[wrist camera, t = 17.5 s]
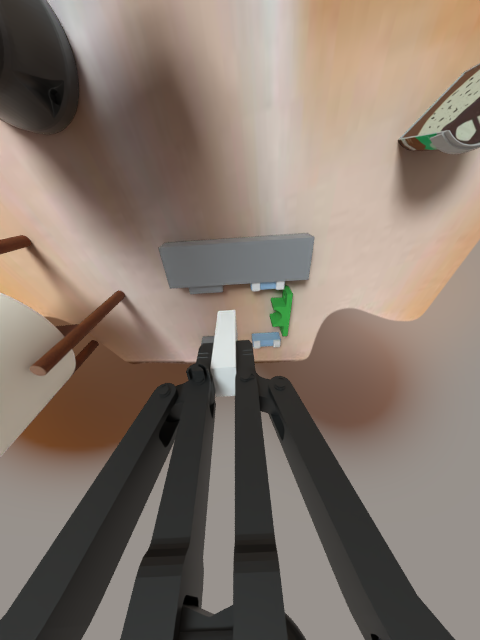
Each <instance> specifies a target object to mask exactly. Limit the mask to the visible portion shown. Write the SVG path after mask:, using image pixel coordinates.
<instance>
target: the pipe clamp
mask: <svg viewBox="0 0 480 640" xmlns="http://www.w3.org/2000/svg"><path fill="white" fill-rule="evenodd" d="M292 297H293V293H292V292H291V290H290V288H289V286H284V289H283V293H282V298H271V303H272V306H273V309H274V310H277V311H276V312H275V313H273V314H270V319H271V323H272V326H273V327H277V326H279V327H280V330H281V333H282V336H287V335H288V327H289V320H290V312H291V305H292Z"/></svg>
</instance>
